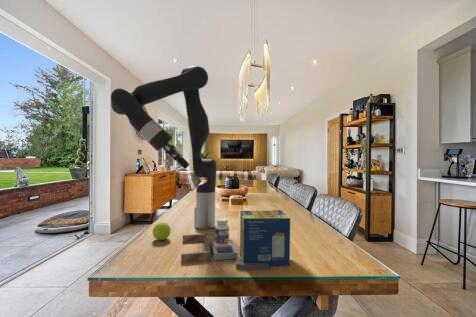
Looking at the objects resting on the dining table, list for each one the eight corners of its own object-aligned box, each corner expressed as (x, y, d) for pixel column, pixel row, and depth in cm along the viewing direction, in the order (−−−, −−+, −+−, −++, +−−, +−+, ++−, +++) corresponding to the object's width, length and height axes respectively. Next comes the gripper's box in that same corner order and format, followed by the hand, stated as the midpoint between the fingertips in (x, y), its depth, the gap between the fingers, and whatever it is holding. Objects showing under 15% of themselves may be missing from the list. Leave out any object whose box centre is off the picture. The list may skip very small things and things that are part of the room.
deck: (214, 260, 78) (214, 253, 78) (210, 246, 89) (210, 240, 89) (237, 258, 79) (237, 251, 79) (231, 245, 91) (231, 239, 91)
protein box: (239, 253, 83) (239, 210, 83) (281, 252, 85) (282, 210, 85) (242, 267, 73) (242, 218, 73) (290, 266, 74) (291, 217, 74)
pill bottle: (215, 240, 90) (215, 217, 90) (228, 240, 90) (228, 217, 90) (214, 245, 84) (215, 221, 84) (229, 245, 85) (229, 221, 85)
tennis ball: (172, 240, 95) (172, 223, 95) (154, 244, 91) (154, 226, 91) (168, 235, 101) (168, 219, 101) (151, 238, 97) (151, 221, 97)
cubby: (180, 262, 76) (181, 254, 76) (182, 241, 95) (182, 234, 95) (210, 260, 78) (211, 252, 78) (206, 239, 97) (206, 233, 97)
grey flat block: (236, 269, 72) (236, 264, 72) (237, 262, 76) (237, 257, 76) (268, 270, 71) (268, 265, 71) (267, 263, 76) (267, 258, 76)
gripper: (161, 126, 79) (195, 159, 82) (165, 130, 93) (194, 159, 96) (144, 141, 78) (179, 175, 81) (151, 143, 92) (180, 172, 95)
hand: (187, 166), depth 88 cm, fingers open, 8 cm apart
